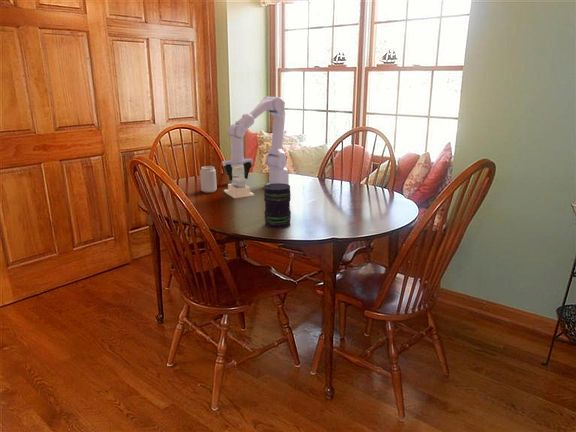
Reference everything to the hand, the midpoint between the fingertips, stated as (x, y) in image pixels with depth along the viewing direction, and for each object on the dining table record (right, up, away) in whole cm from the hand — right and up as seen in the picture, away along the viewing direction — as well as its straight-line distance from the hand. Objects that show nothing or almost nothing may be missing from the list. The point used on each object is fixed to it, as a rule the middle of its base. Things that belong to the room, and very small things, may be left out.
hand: (238, 179), depth 223 cm
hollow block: (0, -7, +2) cm, 7 cm away
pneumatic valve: (-4, 0, +24) cm, 24 cm away
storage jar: (+19, -21, -44) cm, 53 cm away
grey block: (0, -6, +2) cm, 6 cm away
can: (-15, -5, +8) cm, 18 cm away
